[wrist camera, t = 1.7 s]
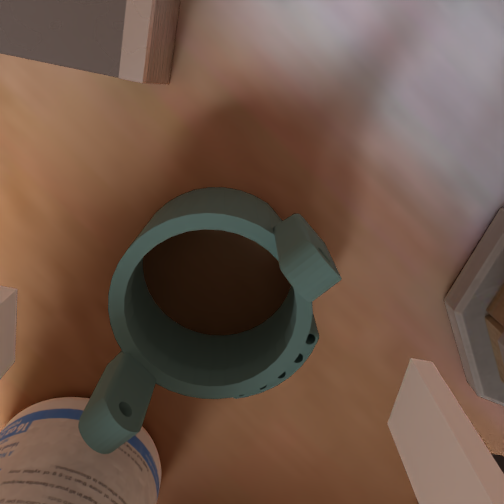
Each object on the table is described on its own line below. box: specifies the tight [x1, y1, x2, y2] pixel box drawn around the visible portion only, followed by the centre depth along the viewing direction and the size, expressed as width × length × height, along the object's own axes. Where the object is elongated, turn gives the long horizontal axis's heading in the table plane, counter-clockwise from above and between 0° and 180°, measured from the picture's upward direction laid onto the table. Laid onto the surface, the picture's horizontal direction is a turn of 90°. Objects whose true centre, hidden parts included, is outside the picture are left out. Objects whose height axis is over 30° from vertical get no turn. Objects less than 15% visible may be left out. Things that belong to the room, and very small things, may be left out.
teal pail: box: [78, 187, 342, 454], centre depth 20 cm, size 9×9×9 cm
